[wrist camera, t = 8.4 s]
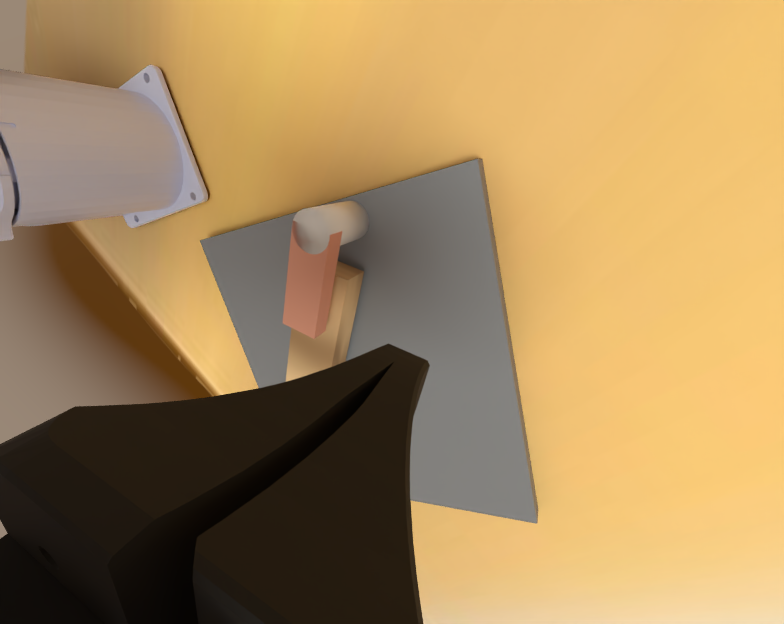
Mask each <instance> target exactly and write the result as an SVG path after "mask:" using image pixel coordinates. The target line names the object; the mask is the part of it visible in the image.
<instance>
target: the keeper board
mask: <svg viewBox="0 0 784 624" xmlns="http://www.w3.org/2000/svg"><path fill="white" fill-rule="evenodd" d="M200 242H201V245H202V247H203V250H204V252H205V255H206V257H207V260H208V262H209V265H210V267H211V270H212V272H213V275H214V277H215V280H216V282H217V285H218V287H219V290H220V292H221V295H222V297H223V300H224V302H225V305H226V307H227V310H228V312H229V315H230V317H231V320H232V322H233V325H234V327H235V330H236V332H237V335H238V337H239V340H240V342H241V345H242V347H243V350H244V352H245V355H246V357H247V360H248V362H249V365H250V367H251V370H252V372H253V375H254V377H255V380H256V382H257V385H258V387H259V388H263V387H267V386H271V385H275V384H279V383H283V382H286V373H287V364H288V355H289V346H290V336H291V328H293V329H295V330H297V331H299V332H301V333H303V334H305V335H307V336H309V337H311V338H313V339H315V338H316V337H318V336H319V335H321V334H322V333H323V332H325V331H326V325H327V319H328V313H329V307H330V302H331V296H332V290H333V284H334V278H335V272H336V266H337V261H340V262H342V263H344V264H347V265H349V266H352V267H354V268H357V269H359V270H361V271H364V274H363V279H362V284H361V289H360V293H359V298H358V303H357V308H356V313H355V317H354V322H353V327H352V332H351V337H350V341H349V346H348V351H347V356H346V361H347V360H350V359H352V358H355V357H357V356H360V355H362V354H364V353H367V352H369V351H371V350H374V349H376V348H378V347H381V346H383V345H386V344H388V343H389V344H391V345H393V346H396V347H398V348H400V349H402V350H405V351H407V352H409V353H412V354H414V355H416V356H419V357H421V358H423V359H425V360H428V363H429V365H430V367H429V370H428V373H427V376H426V379H425V383H424V386H423V389H422V392H421V395H420V398H419V401H418V405H417V408H416V411H415V414H414V416H413V424H412V435H411V449H410V500H412V501H417V502H423V503H428V504H434V505H439V506H445V507H450V508H455V509H461V510H466V511H472V512H477V513H482V514H488V515H493V516H499V517H504V518H510V519H515V520H520V521H526V522H531V523H537V519H538V505H537V499H536V493H535V486H534V480H533V474H532V467H531V461H530V455H529V449H528V442H527V436H526V430H525V424H524V417H523V411H522V405H521V399H520V392H519V386H518V380H517V374H516V367H515V361H514V355H513V349H512V342H511V336H510V330H509V324H508V317H507V311H506V305H505V299H504V292H503V286H502V280H501V274H500V267H499V261H498V255H497V249H496V242H495V236H494V230H493V224H492V217H491V211H490V205H489V199H488V192H487V186H486V180H485V174H484V167H483V161H482V159H475V160H472V161H468V162H465V163H462V164H458V165H455V166H451V167H448V168H445V169H441V170H438V171H434V172H431V173H428V174H424V175H421V176H418V177H414V178H411V179H407V180H404V181H401V182H397V183H394V184H390V185H387V186H384V187H380V188H377V189H373V190H370V191H367V192H363V193H360V194H356V195H353V196H350V197H346V198H343V199H339V200H336V201H333V202H329V203H326V204H323V205H319V206H316V207H311V208H305V209H302V210H300V211H298V212H295V213H292V214H289V215H285V216H282V217H278V218H275V219H272V220H268V221H265V222H261V223H258V224H255V225H251V226H248V227H244V228H241V229H238V230H234V231H231V232H227V233H224V234H221V235H217V236H214V237H211V238H207V239H204V240H200Z"/></svg>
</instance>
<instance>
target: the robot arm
mask: <svg viewBox="0 0 784 624" xmlns="http://www.w3.org/2000/svg"><path fill="white" fill-rule="evenodd" d="M207 199H208V193H207V190H206V188H205V185H204V182H203V180H202V177H201V174H200V172H199V169H198V167H197V164H196V161H195V159H194V156H193V153H192V151H191V148H190V145H189V143H188V140H187V138H186V135H185V132H184V130H183V127H182V124H181V122H180V119H179V117H178V114H177V111H176V109H175V106H174V103H173V101H172V98H171V95H170V93H169V90H168V88H167V85H166V82H165V80H164V77H163V74H162V72H161V70H160V69H159V68H158V67H157V66H154V65H148V66H147V67H145V68H144V69H143V70H141V71H140V72H139V73H138V74H136V75H135V76H134V77H132V78H131V79H130V80H128V81H127V82H126V83H124V84H123V85H122V86H120V87H119V88H118V89H117V88H111V87H105V86H99V85H93V84H87V83H81V82H75V81H69V80H63V79H57V78H51V77H45V76H39V75H33V74H27V73H21V72H14V71H9V70H3V69H0V241H5V240H12V239H13V238H14V236H13V232H12V227H14V226H39V225H48V224H56V223H64V222H73V221H81V220H89V219H98V218H106V217H115V216H123V217H124V219H125V221H126V223H127V225H128V226H129V227H131V228H136V227H139V226H142V225H145V224H147V223H150V222H153V221H155V220H158V219H161V218H163V217H166V216H169V215H171V214H174V213H177V212H179V211H182V210H185V209H187V208H190V207H193V206H195V205H198V204H201V203H203V202H206V201H207ZM429 367H430V365H429V363H428V360H425V359H423V358H421V357H419V356H416V355H414V354H412V353H409V352H407V351H405V350H402V349H400V348H398V347H396V346H393V345H391V344H389V343H388V344H386V345H383V346H381V347H378V348H376V349H374V350H371V351H369V352H367V353H364V354H362V355H360V356H357V357H355V358H352V359H350V360H347V361H345V362H342V363H340V364H337V365H335V366H332V367H330V368H327V369H324V370H321V371H318V372H315V373H312V374H309V375H306V376H303V377H300V378H297V379H294V380H290V381H287V382H283V383H279V384H275V385H271V386H267V387H263V388H258V389H253V390H248V391H242V392H237V393H231V394H225V395H219V396H214V397H207V398H199V399H191V400H183V401H174V402H173V401H172V402H162V403H149V404H132V405H109V406H83V407H81V406H79V407H74V408H72V409H69V410H68V411H66V412H64V413H62V414H60V415H58V416H56V417H54V418H52V419H50V420H48V421H46V422H44V423H42V424H40V425H38V426H36V427H34V428H32V429H30V430H28V431H26V432H24V433H22V434H20V435H18V436H16V437H14V438H12V439H10V440H8V441H6V442H4V443H2V444H0V520H1V522H2V524H3V526H4V527H5V529H6V531H7V533H8V534H7V535H5V536H4V537H2V538H1V539H0V624H423V618H422V612H421V605H420V597H419V590H418V582H417V575H416V565H415V556H414V546H413V534H412V518H411V502H410V449H411V435H412V424H413V416H414V414H415V411H416V408H417V405H418V401H419V398H420V395H421V392H422V389H423V386H424V383H425V379H426V376H427V373H428V370H429Z"/></svg>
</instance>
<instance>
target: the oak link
mask: <svg viewBox="0 0 784 624" xmlns="http://www.w3.org/2000/svg"><path fill="white" fill-rule="evenodd" d="M363 274H364V271H361V270H359V269H357V268H354V267H352V266H349V265H347V264H344V263H342V262H340V261H337V266H336V272H335V278H334V284H333V290H332V296H331V302H330V307H329V313H328V319H327V325H326V331H325V332H323V333H322V334H321V335H319V336H318V337H316V338H315V339H313V338H311V337H309V336H307V335H305V334H303V333H301V332H299V331H297V330H295V329H293V328H291V336H290V346H289V355H288V364H287V373H286V382H287V381H290V380H294V379H297V378H300V377H303V376H306V375H309V374H312V373H315V372H318V371H321V370H324V369H327V368H330V367H332V366H335V365H337V364H340V363H342V362H345V361H346V356H347V351H348V346H349V341H350V337H351V332H352V327H353V322H354V317H355V313H356V308H357V303H358V298H359V293H360V289H361V284H362V279H363Z"/></svg>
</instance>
